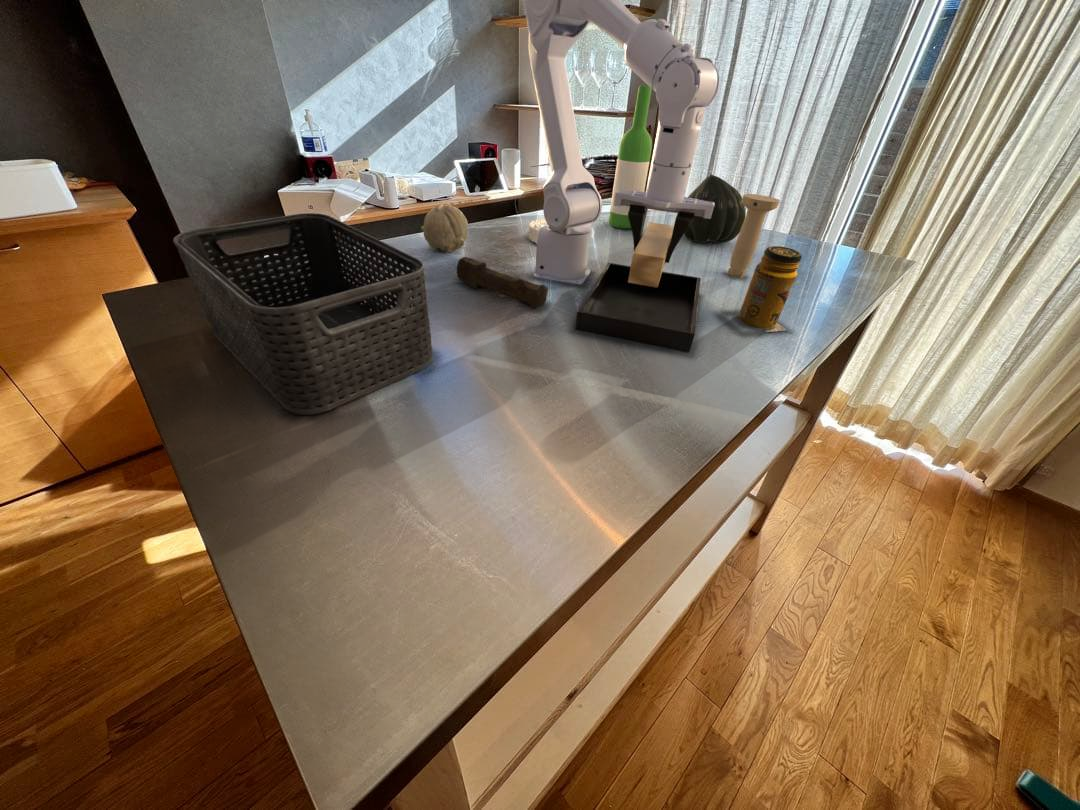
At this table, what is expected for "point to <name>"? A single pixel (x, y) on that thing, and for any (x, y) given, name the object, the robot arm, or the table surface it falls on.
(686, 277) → the black tray
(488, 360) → the table surface
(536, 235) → the mooncake
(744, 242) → the handle
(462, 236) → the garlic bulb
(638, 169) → the wine bottle
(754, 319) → the condiment
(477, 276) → the hand tool
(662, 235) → the stick
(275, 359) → the storage bin
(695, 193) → the squash
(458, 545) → the table surface
